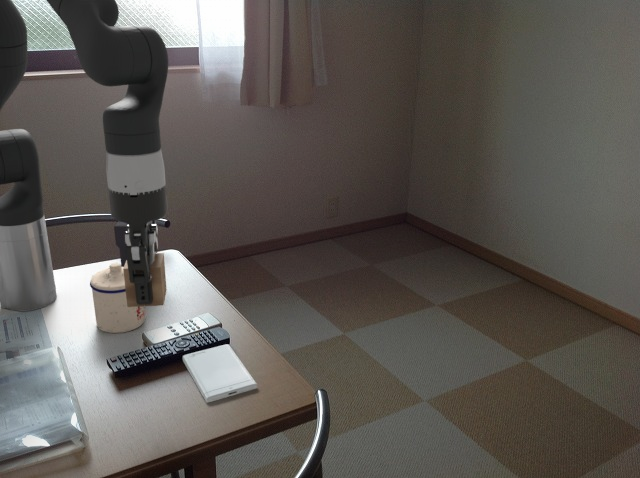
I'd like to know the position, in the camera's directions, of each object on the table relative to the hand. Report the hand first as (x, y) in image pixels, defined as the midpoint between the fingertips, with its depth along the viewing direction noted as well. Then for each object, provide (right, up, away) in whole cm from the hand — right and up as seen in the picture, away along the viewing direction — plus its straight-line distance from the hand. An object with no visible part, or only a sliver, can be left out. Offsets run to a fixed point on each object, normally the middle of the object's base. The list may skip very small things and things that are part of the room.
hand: (147, 293), depth 86 cm
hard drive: (+9, -14, +9) cm, 19 cm away
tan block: (0, -1, 0) cm, 1 cm away
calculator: (-12, -2, +37) cm, 39 cm away
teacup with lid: (-12, -7, +24) cm, 28 cm away
